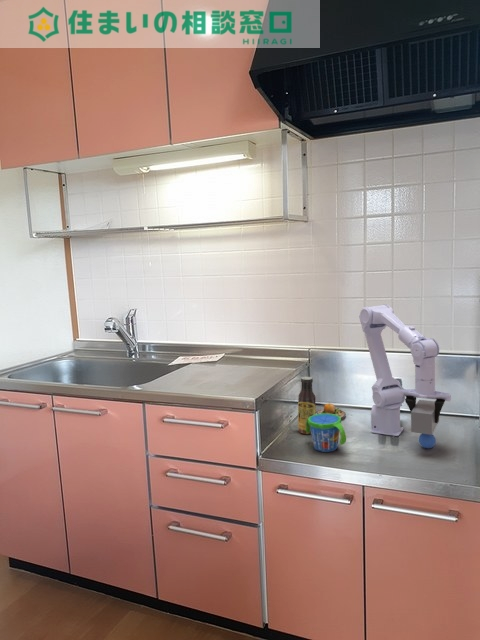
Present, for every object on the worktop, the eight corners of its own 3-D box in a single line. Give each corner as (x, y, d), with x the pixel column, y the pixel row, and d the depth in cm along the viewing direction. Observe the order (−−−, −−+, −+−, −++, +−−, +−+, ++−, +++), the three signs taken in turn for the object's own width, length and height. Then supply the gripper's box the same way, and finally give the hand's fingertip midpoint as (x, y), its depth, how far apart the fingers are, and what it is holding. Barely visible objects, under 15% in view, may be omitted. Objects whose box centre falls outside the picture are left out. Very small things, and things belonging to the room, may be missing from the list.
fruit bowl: (350, 415, 191) (349, 396, 190) (340, 425, 181) (339, 405, 180) (320, 411, 197) (320, 393, 196) (309, 421, 187) (308, 402, 186)
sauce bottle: (296, 434, 174) (293, 379, 171) (301, 428, 180) (298, 375, 177) (314, 435, 172) (312, 380, 169) (318, 429, 177) (316, 375, 175)
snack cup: (297, 445, 165) (296, 416, 163) (321, 437, 170) (320, 408, 169) (329, 460, 152) (328, 429, 150) (354, 451, 157) (353, 420, 155)
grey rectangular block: (411, 432, 150) (410, 412, 150) (419, 418, 161) (419, 399, 160) (432, 434, 147) (431, 414, 146) (439, 421, 158) (438, 401, 157)
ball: (419, 428, 158) (420, 440, 160) (417, 437, 154) (418, 450, 156) (436, 429, 156) (436, 442, 158) (434, 439, 152) (435, 452, 154)
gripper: (397, 379, 152) (398, 421, 154) (448, 383, 145) (448, 428, 147) (403, 374, 158) (403, 414, 160) (451, 377, 151) (451, 420, 153)
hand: (425, 420), depth 154 cm, fingers closed on grey rectangular block, 6 cm apart
